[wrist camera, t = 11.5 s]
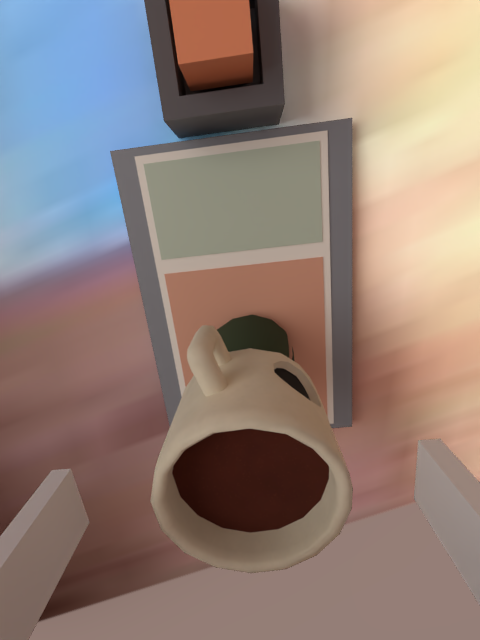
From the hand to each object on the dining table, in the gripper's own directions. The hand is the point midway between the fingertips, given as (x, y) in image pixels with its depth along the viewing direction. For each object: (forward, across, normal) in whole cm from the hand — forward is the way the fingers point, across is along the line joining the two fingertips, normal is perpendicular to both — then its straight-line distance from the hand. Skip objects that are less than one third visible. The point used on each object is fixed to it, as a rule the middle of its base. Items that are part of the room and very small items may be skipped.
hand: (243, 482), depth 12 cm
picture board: (+13, +1, +4) cm, 13 cm away
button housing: (+13, +1, +18) cm, 22 cm away
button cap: (+10, +1, +18) cm, 21 cm away
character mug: (+12, 0, 0) cm, 12 cm away
